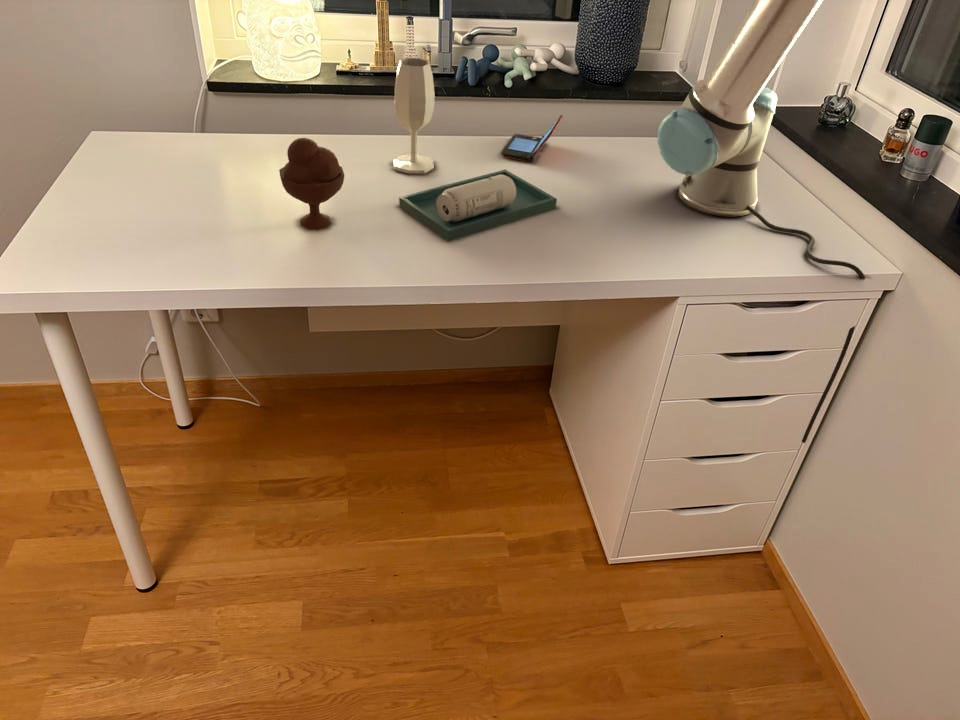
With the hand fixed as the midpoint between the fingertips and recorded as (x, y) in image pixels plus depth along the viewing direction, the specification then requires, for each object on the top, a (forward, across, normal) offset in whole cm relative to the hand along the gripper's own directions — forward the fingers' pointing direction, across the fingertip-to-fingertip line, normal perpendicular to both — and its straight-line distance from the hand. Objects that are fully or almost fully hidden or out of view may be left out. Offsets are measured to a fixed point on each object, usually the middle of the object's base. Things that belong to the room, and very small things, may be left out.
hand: (562, 16), depth 145 cm
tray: (+29, -26, -10) cm, 40 cm away
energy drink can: (+26, -21, -12) cm, 35 cm away
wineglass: (+30, -26, +12) cm, 41 cm away
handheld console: (+30, +1, +6) cm, 30 cm away
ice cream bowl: (+30, -55, 0) cm, 62 cm away
